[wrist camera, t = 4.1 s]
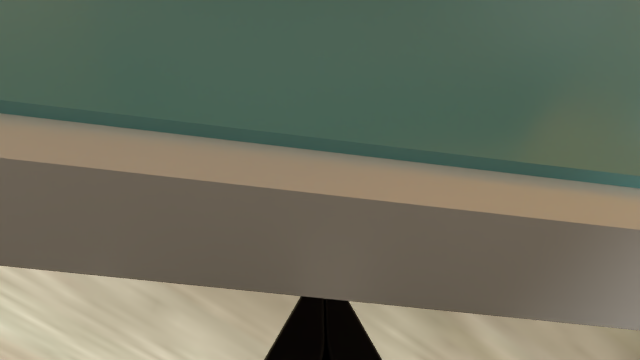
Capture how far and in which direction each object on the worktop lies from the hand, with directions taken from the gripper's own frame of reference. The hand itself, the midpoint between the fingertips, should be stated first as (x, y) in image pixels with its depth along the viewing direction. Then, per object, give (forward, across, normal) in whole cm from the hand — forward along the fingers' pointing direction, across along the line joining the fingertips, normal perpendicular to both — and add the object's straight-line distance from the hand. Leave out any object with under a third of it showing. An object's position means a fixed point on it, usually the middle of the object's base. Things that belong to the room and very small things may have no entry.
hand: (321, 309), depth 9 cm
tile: (+1, 0, -5) cm, 5 cm away
